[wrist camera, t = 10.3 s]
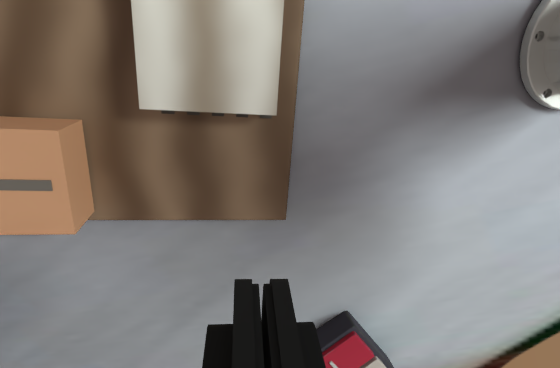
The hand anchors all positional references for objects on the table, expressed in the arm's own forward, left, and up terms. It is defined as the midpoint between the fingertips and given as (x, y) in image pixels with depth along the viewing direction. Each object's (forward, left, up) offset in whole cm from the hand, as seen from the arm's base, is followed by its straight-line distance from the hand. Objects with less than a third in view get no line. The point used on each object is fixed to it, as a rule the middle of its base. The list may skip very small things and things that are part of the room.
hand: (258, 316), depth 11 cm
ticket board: (+8, -3, -22) cm, 24 cm away
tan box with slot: (+17, +2, -20) cm, 27 cm away
